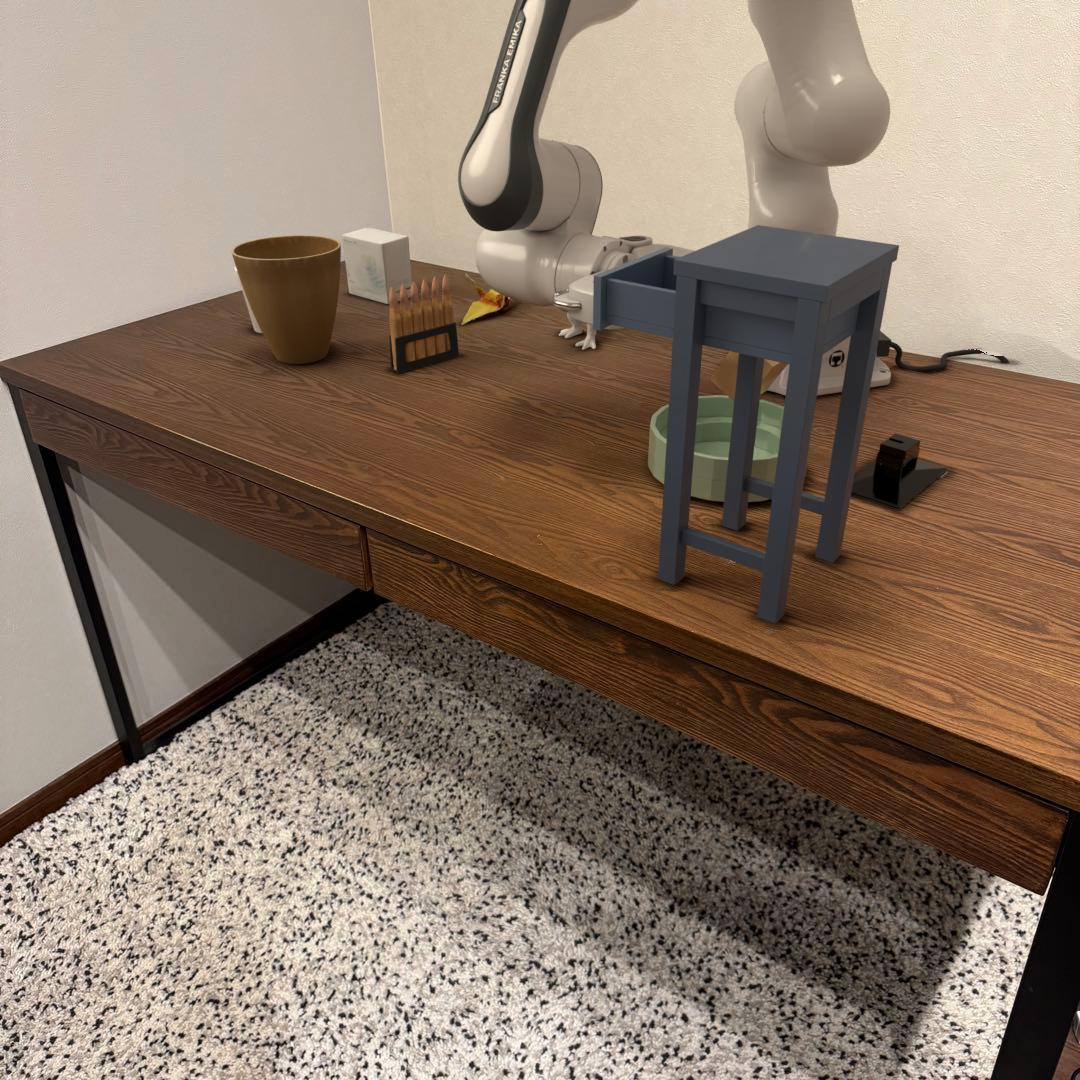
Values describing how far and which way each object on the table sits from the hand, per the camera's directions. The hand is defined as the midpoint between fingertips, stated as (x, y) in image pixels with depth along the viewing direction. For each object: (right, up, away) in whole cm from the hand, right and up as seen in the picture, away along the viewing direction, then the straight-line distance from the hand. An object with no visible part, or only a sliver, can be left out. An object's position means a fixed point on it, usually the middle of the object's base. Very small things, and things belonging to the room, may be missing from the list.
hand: (708, 300), depth 98 cm
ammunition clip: (-34, 0, +38) cm, 51 cm away
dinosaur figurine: (-9, +6, +48) cm, 49 cm away
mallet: (0, -5, +3) cm, 6 cm away
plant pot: (-53, +2, +42) cm, 67 cm away
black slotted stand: (+21, -19, +5) cm, 29 cm away
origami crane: (-25, +13, +59) cm, 66 cm away
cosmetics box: (-46, +18, +67) cm, 83 cm away
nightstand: (-1, -26, -7) cm, 27 cm away
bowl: (+3, -17, +8) cm, 19 cm away
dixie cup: (-61, +9, +53) cm, 81 cm away
